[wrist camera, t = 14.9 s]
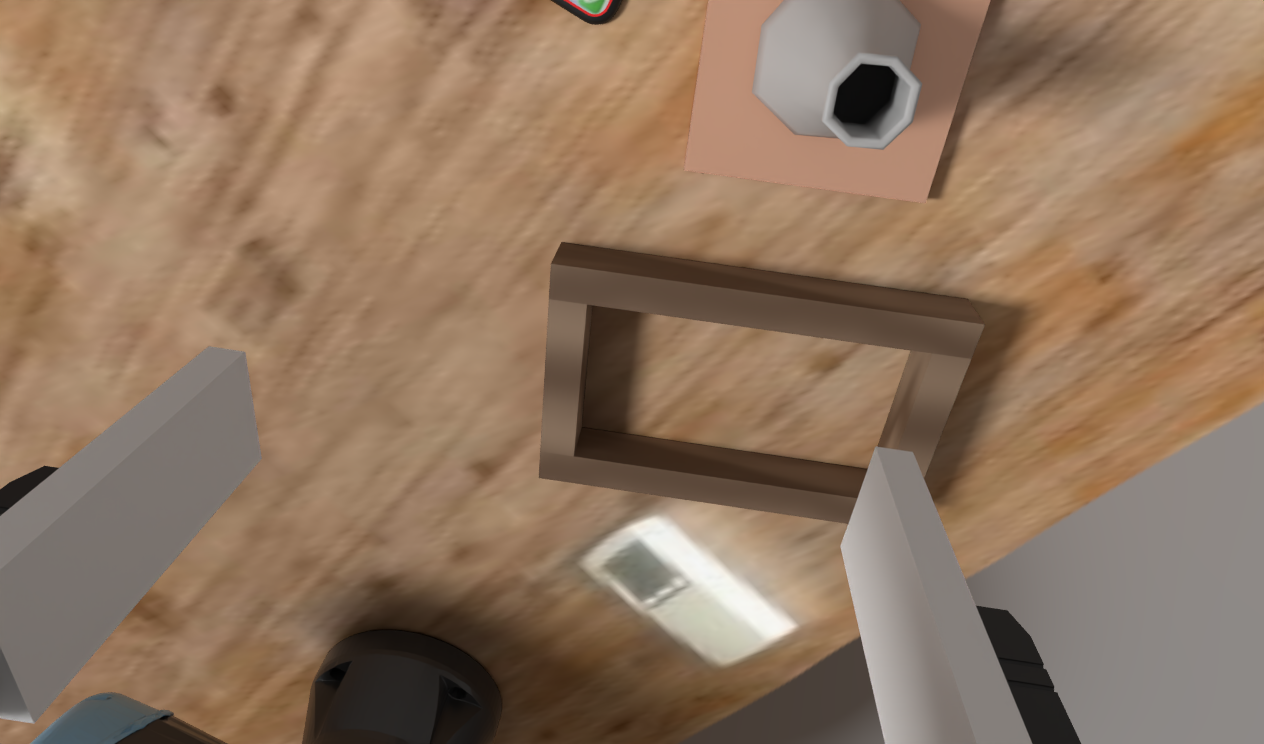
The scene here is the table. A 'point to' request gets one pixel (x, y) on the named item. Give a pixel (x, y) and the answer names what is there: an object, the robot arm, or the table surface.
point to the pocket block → (754, 300)
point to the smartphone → (591, 9)
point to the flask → (840, 69)
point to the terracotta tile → (768, 151)
